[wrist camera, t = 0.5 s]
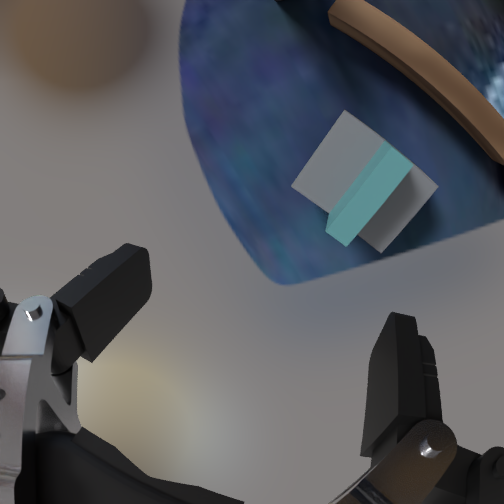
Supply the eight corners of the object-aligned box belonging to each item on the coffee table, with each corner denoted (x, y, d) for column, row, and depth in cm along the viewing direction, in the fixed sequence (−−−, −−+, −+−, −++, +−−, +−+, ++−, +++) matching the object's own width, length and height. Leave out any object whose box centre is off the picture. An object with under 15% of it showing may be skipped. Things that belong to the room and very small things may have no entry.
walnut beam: (345, 5, 22) (344, -11, 18) (504, 140, 23) (526, 147, 19) (330, 25, 24) (327, 12, 20) (491, 159, 24) (511, 169, 20)
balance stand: (344, 109, 28) (343, 110, 18) (420, 169, 28) (452, 200, 18) (302, 169, 32) (281, 200, 23) (376, 224, 32) (384, 276, 23)
